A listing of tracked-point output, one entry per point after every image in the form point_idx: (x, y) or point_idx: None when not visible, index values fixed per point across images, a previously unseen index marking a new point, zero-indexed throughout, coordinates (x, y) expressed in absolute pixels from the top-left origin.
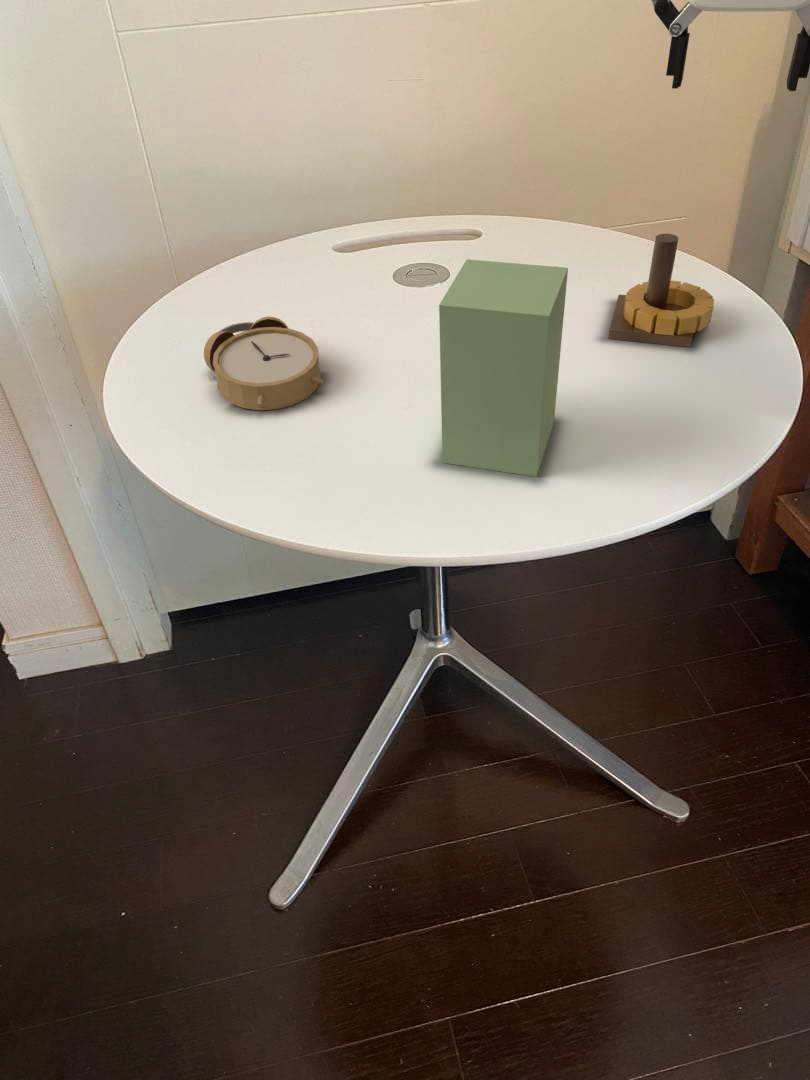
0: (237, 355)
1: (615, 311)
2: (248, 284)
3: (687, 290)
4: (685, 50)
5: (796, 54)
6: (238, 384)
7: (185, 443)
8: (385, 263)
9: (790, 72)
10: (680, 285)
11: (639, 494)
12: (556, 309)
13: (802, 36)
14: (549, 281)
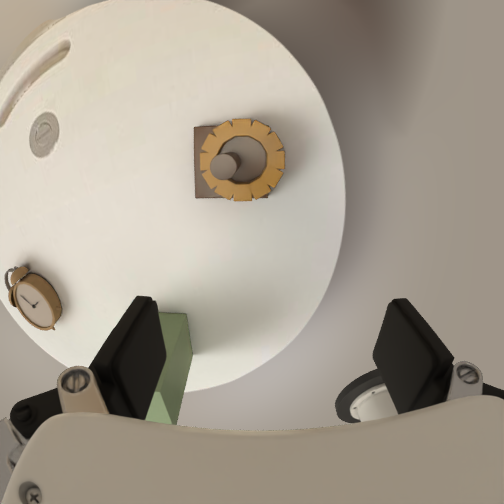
0: (24, 305)
1: (195, 162)
2: None
3: (258, 138)
4: (148, 407)
5: (393, 399)
6: (41, 329)
7: (50, 343)
8: (22, 128)
9: (385, 360)
10: (251, 128)
11: (245, 358)
12: (171, 408)
13: (415, 409)
14: (157, 405)
